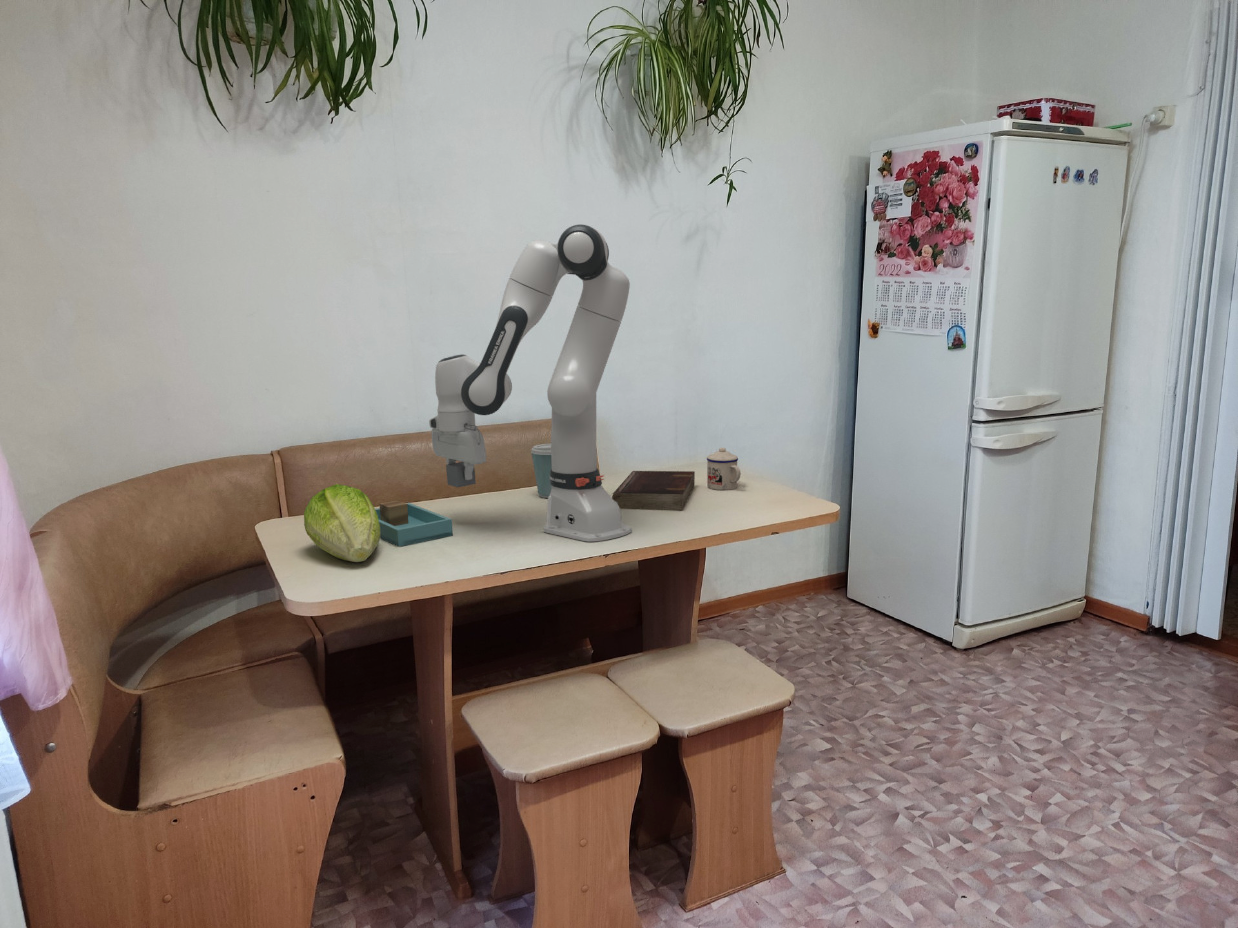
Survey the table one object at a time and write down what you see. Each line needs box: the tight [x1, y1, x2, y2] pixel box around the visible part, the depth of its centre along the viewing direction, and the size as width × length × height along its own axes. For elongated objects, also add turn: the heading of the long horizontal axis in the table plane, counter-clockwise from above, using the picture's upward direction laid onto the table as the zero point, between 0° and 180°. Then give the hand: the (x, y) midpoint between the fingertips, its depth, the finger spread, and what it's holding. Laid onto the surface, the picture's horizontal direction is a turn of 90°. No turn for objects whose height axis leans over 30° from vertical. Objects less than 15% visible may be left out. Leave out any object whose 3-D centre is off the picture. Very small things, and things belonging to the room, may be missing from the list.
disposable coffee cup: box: [530, 442, 552, 499], centre depth 245 cm, size 11×11×15 cm
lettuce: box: [303, 483, 381, 563], centre depth 193 cm, size 15×24×16 cm
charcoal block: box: [445, 461, 477, 488], centre depth 214 cm, size 5×5×5 cm
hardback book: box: [611, 470, 696, 512], centre depth 243 cm, size 29×19×5 cm, turn 169°
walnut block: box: [378, 499, 408, 526], centre depth 215 cm, size 5×5×5 cm
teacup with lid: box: [706, 447, 741, 491], centre depth 252 cm, size 12×9×12 cm
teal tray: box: [375, 502, 454, 548], centre depth 211 cm, size 22×14×4 cm, turn 40°
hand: (461, 477), depth 215 cm, fingers closed on charcoal block, 5 cm apart
